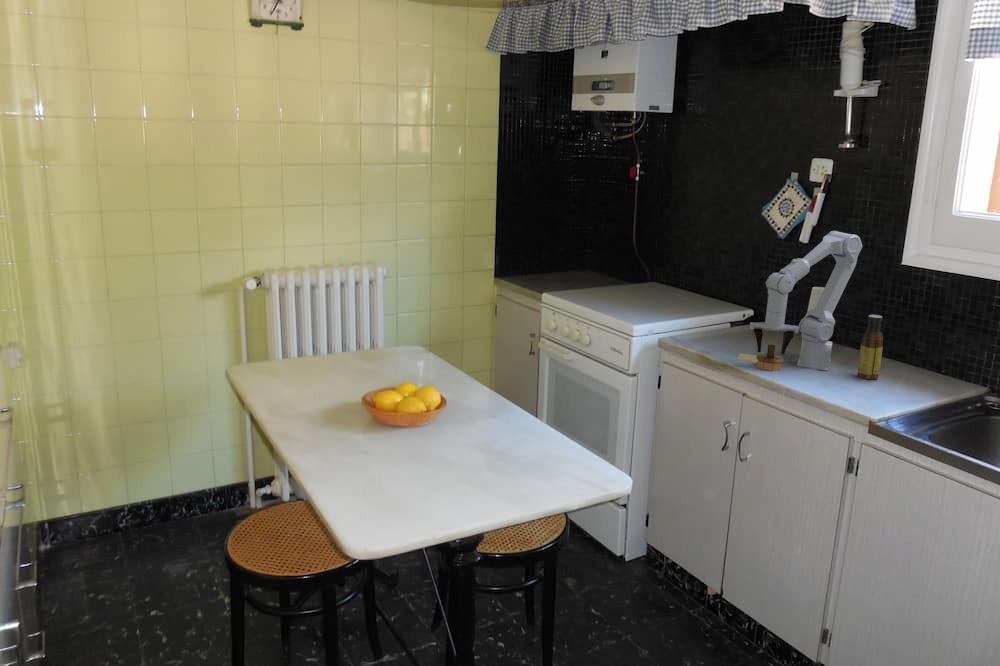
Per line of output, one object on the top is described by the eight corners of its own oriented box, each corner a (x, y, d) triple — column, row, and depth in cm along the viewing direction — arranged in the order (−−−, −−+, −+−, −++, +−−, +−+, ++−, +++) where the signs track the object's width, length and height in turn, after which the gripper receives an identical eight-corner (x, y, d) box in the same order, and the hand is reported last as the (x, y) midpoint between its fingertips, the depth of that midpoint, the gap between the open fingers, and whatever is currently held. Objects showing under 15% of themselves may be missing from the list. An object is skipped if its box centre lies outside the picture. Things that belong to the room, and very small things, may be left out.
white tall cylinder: (827, 360, 266) (835, 289, 261) (810, 361, 264) (818, 289, 259) (813, 355, 272) (821, 286, 267) (797, 356, 270) (804, 286, 265)
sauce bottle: (874, 374, 253) (884, 314, 248) (881, 380, 247) (891, 318, 242) (853, 373, 254) (862, 313, 249) (859, 379, 248) (869, 317, 243)
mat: (767, 358, 267) (768, 357, 267) (765, 364, 260) (765, 363, 260) (740, 354, 270) (740, 353, 270) (736, 360, 263) (737, 359, 263)
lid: (781, 357, 258) (783, 342, 257) (785, 364, 250) (787, 350, 249) (754, 355, 260) (756, 340, 258) (758, 362, 252) (760, 347, 250)
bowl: (781, 367, 257) (782, 358, 257) (779, 373, 251) (780, 364, 250) (758, 364, 260) (759, 355, 259) (756, 370, 254) (757, 361, 253)
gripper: (798, 310, 253) (792, 351, 257) (750, 306, 256) (746, 347, 259) (801, 315, 246) (796, 357, 250) (753, 311, 249) (748, 353, 253)
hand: (770, 352), depth 254 cm, fingers open, 7 cm apart
